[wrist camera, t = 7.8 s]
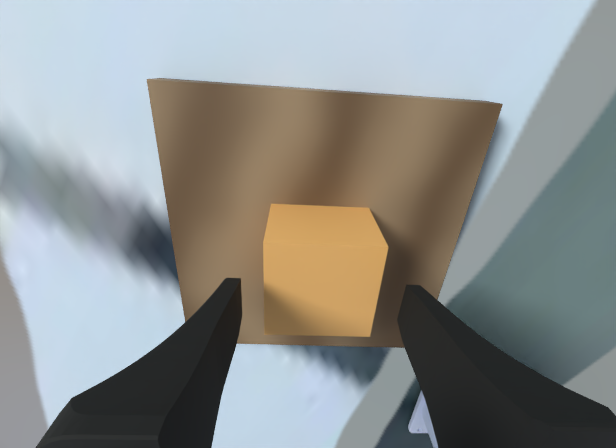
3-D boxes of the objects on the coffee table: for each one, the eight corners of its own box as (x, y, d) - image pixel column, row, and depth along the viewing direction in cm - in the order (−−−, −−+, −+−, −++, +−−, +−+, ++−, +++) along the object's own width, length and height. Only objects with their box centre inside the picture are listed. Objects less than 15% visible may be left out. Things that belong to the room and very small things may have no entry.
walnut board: (484, 101, 15) (546, 111, 11) (413, 331, 23) (437, 385, 19) (160, 78, 14) (111, 81, 11) (195, 325, 22) (173, 380, 18)
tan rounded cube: (368, 207, 16) (388, 246, 13) (356, 285, 19) (370, 336, 15) (271, 203, 16) (263, 242, 12) (271, 282, 18) (264, 334, 15)
